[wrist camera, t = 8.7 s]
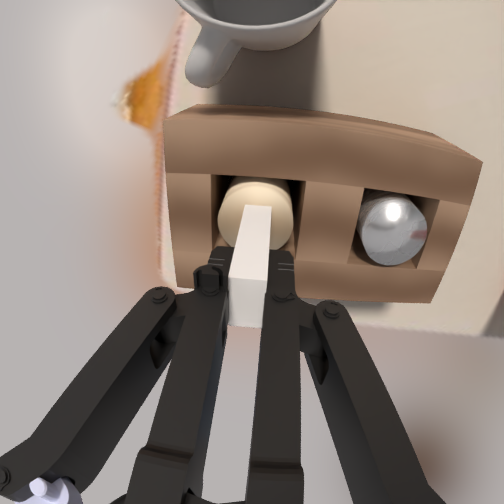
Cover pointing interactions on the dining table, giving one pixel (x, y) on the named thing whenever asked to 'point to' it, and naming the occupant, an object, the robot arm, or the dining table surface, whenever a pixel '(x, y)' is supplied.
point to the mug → (245, 31)
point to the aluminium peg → (390, 226)
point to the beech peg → (260, 194)
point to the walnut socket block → (318, 193)
